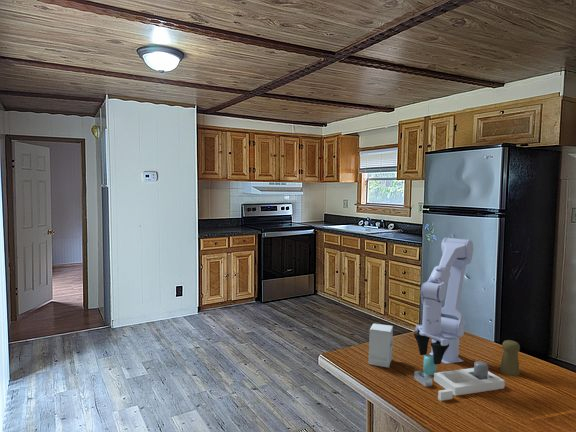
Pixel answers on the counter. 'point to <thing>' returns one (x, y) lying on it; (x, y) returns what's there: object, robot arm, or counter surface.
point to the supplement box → (380, 345)
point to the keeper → (445, 394)
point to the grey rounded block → (480, 370)
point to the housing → (467, 381)
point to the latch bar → (423, 378)
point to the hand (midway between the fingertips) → (430, 359)
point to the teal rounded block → (429, 365)
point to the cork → (510, 358)
